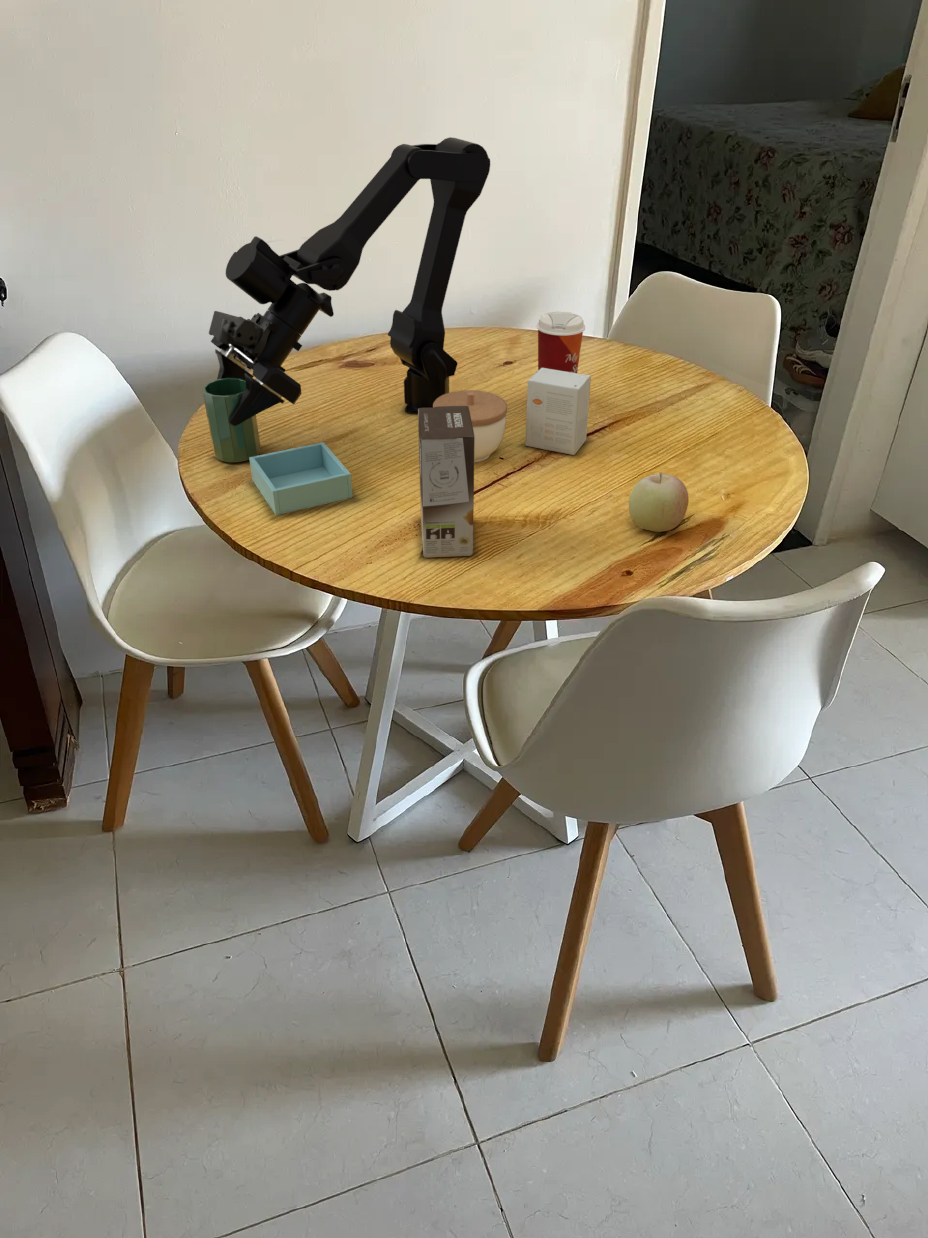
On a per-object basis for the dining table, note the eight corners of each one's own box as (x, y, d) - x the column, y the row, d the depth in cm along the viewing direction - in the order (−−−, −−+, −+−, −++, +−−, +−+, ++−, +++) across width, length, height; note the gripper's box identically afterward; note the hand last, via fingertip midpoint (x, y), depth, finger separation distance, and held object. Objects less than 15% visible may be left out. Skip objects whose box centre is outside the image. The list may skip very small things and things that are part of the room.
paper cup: (576, 414, 147) (583, 328, 139) (528, 410, 149) (533, 324, 140) (581, 395, 154) (588, 311, 145) (535, 391, 155) (540, 308, 146)
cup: (269, 450, 135) (260, 385, 129) (235, 466, 131) (223, 400, 125) (239, 437, 138) (229, 374, 132) (205, 453, 134) (192, 388, 128)
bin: (325, 467, 133) (323, 441, 130) (353, 500, 125) (351, 473, 123) (252, 483, 129) (249, 457, 126) (276, 518, 121) (272, 491, 119)
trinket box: (418, 455, 136) (417, 395, 130) (465, 431, 142) (465, 373, 137) (474, 477, 130) (475, 415, 125) (520, 451, 137) (523, 391, 131)
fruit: (665, 547, 116) (674, 491, 111) (616, 527, 120) (622, 472, 115) (695, 523, 120) (705, 469, 116) (647, 505, 124) (654, 451, 119)
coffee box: (474, 556, 114) (476, 437, 104) (423, 558, 113) (419, 439, 104) (468, 519, 121) (469, 404, 111) (419, 520, 121) (416, 405, 111)
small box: (586, 441, 140) (592, 374, 133) (574, 456, 136) (580, 388, 129) (537, 431, 142) (541, 365, 136) (524, 446, 138) (527, 379, 132)
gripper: (213, 271, 129) (152, 364, 130) (269, 307, 116) (200, 409, 118) (272, 316, 137) (214, 403, 139) (330, 355, 125) (265, 450, 126)
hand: (221, 415), depth 130 cm, fingers closed on cup, 7 cm apart
